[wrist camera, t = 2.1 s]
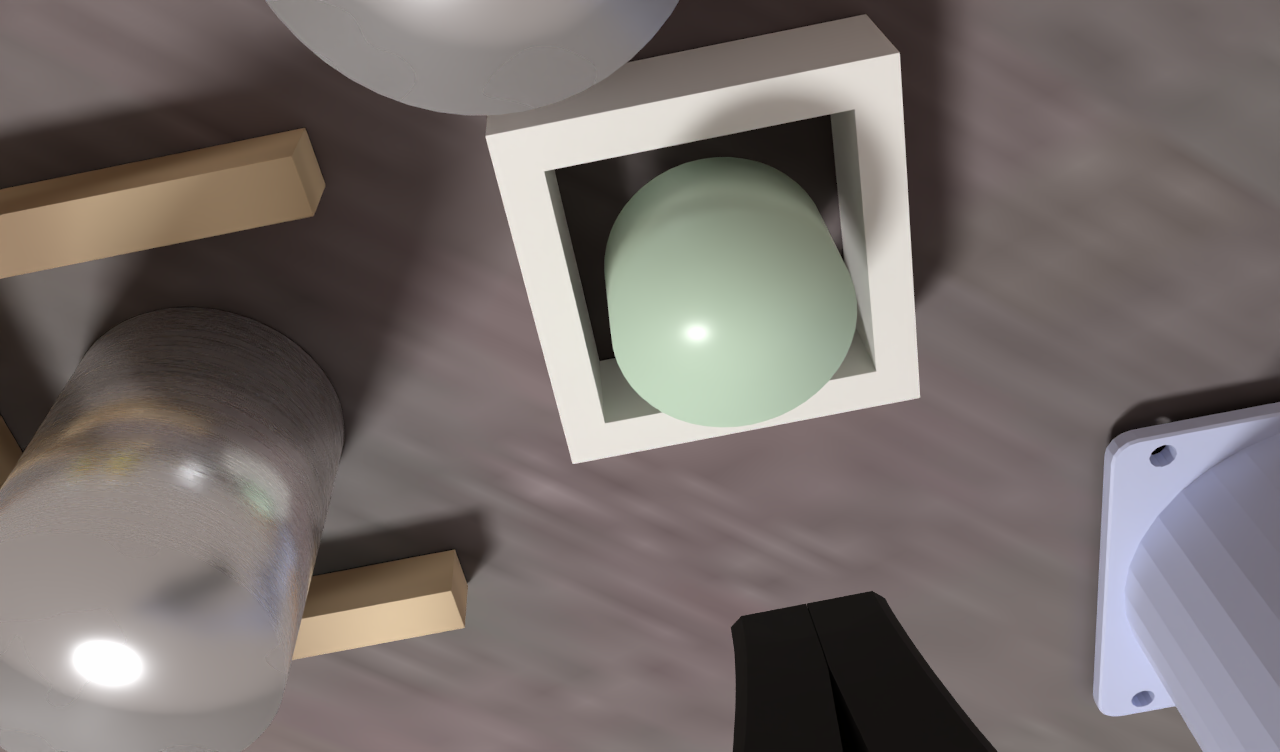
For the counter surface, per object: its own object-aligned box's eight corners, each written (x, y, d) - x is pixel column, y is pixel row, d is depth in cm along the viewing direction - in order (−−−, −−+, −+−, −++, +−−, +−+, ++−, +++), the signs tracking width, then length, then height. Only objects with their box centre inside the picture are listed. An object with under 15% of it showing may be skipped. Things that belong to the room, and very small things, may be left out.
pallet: (47, -596, 14) (-21, -630, 12) (467, 585, 24) (462, 658, 22) (-599, -450, 14) (-757, -462, 12) (90, 656, 24) (57, 733, 22)
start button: (816, 135, 18) (846, 188, 16) (837, 336, 19) (865, 402, 18) (583, 182, 18) (588, 240, 16) (626, 377, 20) (635, 446, 18)
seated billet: (293, 283, 20) (209, 503, 15) (377, 498, 22) (330, 748, 17) (22, 336, 20) (-152, 572, 15) (137, 544, 23) (22, 804, 18)
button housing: (866, 14, 18) (899, 52, 16) (889, 337, 21) (920, 397, 20) (490, 90, 18) (485, 135, 17) (569, 399, 22) (572, 464, 20)
